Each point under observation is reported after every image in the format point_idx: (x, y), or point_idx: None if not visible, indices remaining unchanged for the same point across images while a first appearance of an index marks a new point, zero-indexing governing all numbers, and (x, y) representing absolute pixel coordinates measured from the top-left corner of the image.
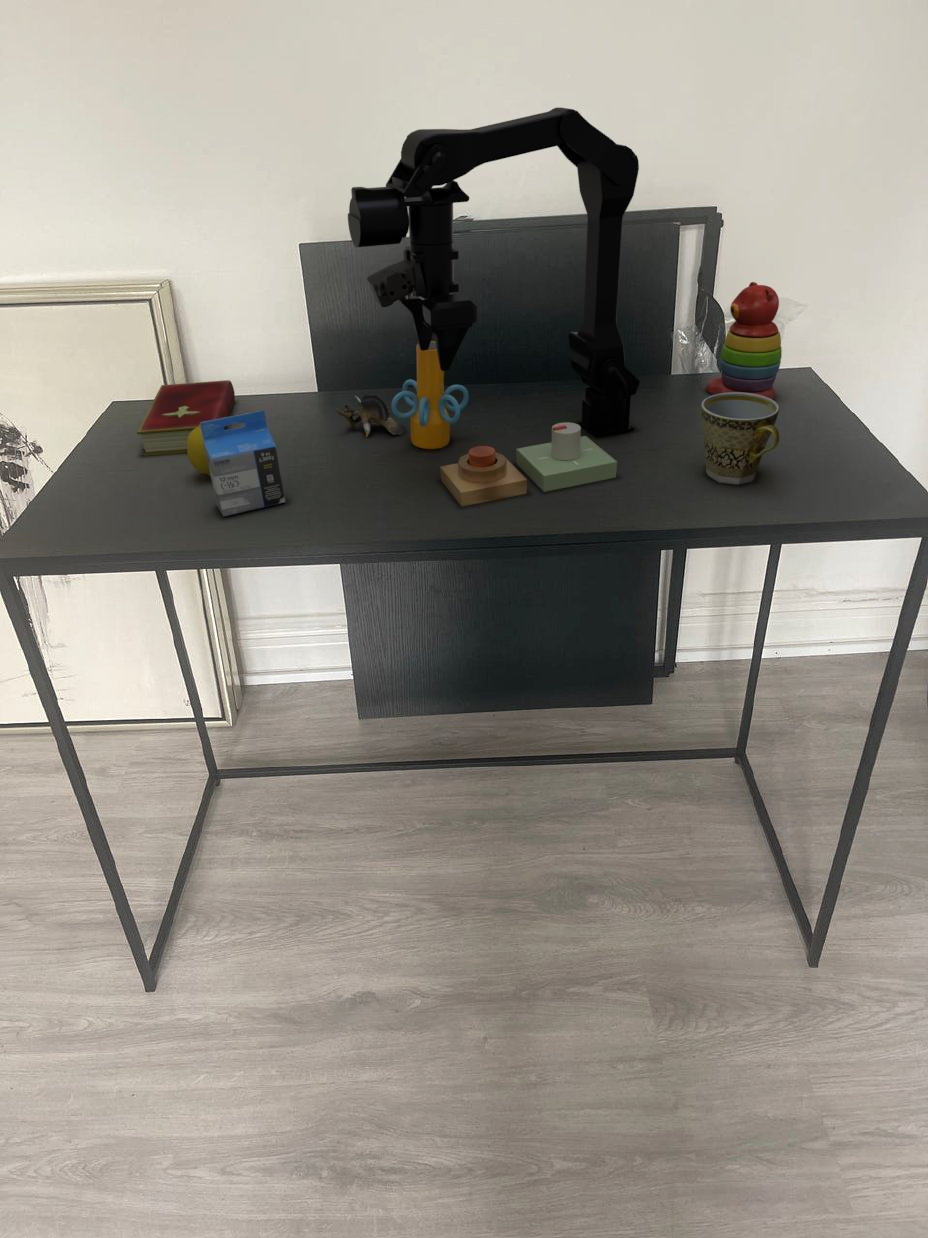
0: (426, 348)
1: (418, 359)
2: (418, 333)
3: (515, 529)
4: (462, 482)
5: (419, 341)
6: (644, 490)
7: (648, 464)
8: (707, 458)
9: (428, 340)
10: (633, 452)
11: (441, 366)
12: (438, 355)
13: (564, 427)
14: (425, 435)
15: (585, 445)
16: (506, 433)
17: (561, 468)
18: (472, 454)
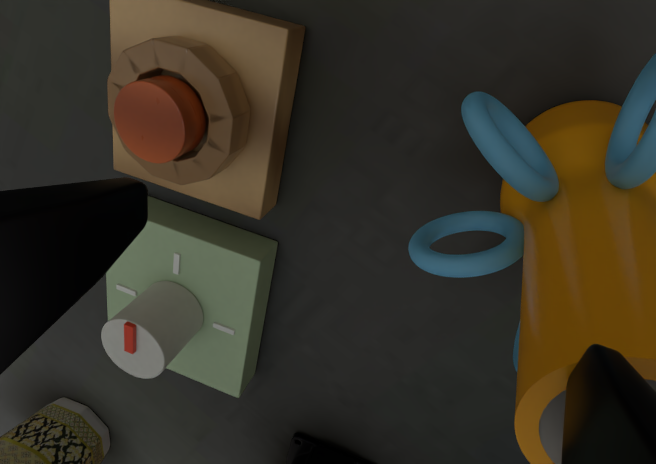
0: (575, 379)
1: (643, 301)
2: (639, 449)
3: (9, 30)
4: (160, 23)
5: (614, 387)
6: (76, 316)
7: (156, 391)
8: (59, 425)
9: (569, 440)
10: (207, 413)
11: (100, 183)
12: (36, 197)
13: (124, 344)
14: (533, 131)
15: (196, 363)
16: (453, 347)
17: (121, 255)
18: (138, 85)
